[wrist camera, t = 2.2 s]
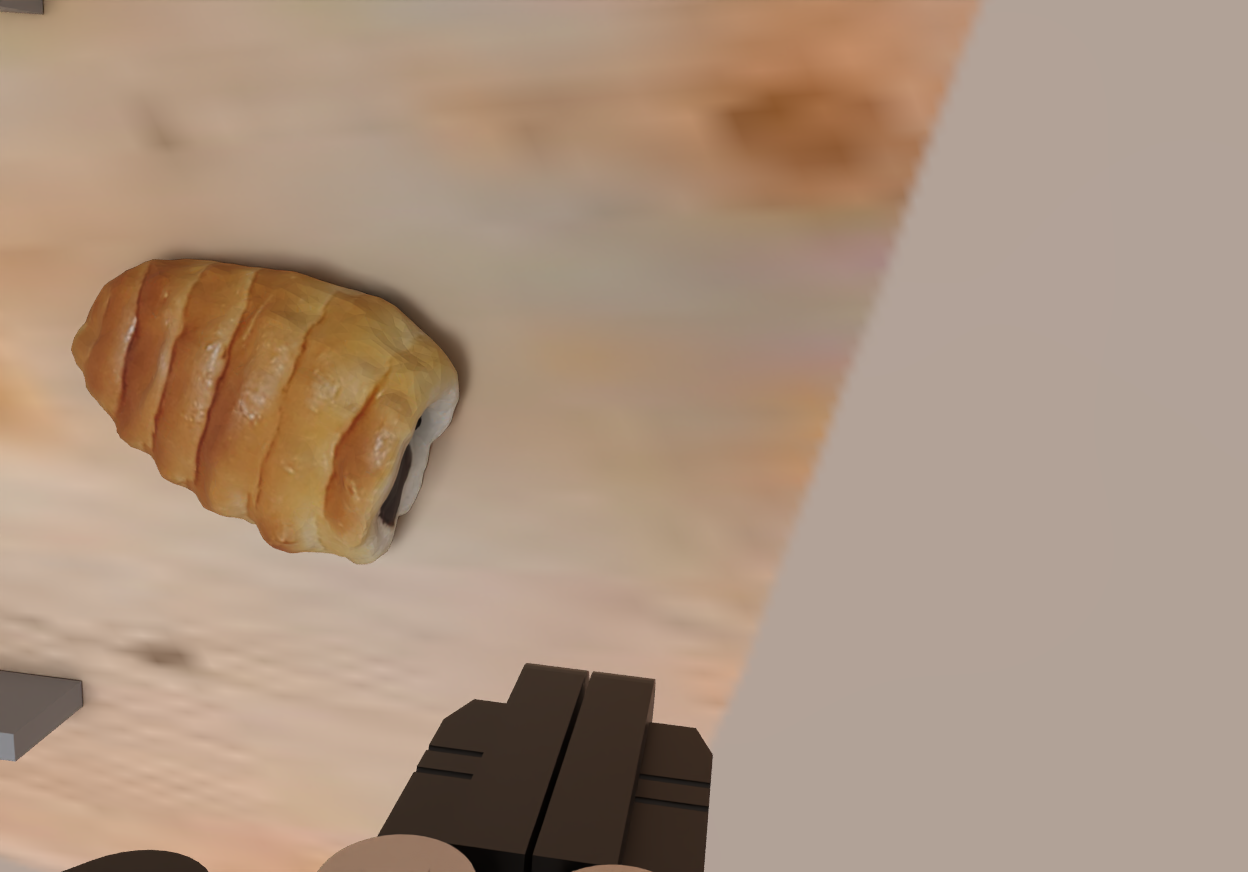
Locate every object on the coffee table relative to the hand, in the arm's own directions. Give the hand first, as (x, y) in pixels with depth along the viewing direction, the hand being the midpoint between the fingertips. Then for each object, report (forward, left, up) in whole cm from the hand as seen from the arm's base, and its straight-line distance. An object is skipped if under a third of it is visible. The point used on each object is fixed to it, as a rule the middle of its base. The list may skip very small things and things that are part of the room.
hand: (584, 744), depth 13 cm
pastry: (0, -10, -16) cm, 19 cm away
